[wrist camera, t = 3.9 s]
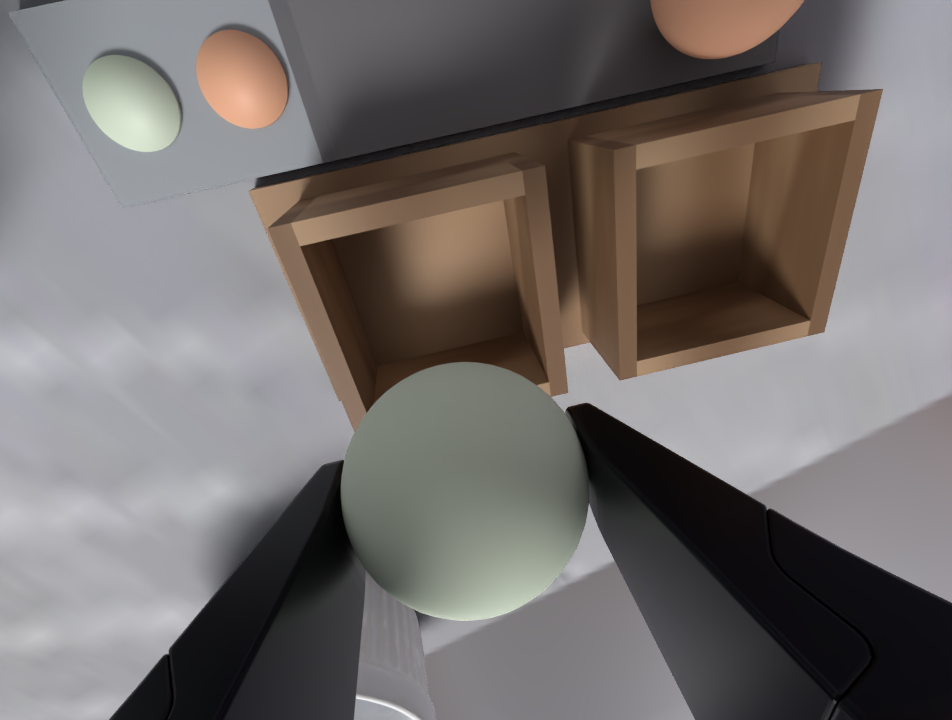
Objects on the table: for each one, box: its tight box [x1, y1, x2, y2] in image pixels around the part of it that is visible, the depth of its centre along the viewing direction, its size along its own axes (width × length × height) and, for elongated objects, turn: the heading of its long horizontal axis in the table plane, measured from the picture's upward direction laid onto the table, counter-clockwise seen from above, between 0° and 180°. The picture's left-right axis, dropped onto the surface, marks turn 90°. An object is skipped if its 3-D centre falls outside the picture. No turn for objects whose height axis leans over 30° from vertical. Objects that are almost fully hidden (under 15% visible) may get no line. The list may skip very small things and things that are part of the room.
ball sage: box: [341, 362, 589, 621], centre depth 7 cm, size 4×4×4 cm
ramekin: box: [354, 570, 435, 720], centre depth 23 cm, size 13×13×7 cm
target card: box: [8, 0, 338, 208], centre depth 13 cm, size 7×5×1 cm
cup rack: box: [249, 63, 883, 432], centre depth 15 cm, size 19×8×4 cm, turn 101°
